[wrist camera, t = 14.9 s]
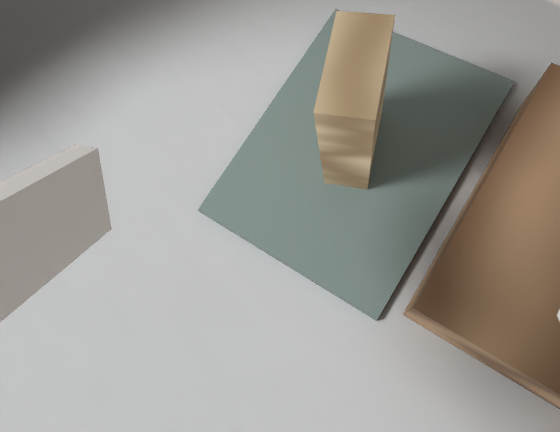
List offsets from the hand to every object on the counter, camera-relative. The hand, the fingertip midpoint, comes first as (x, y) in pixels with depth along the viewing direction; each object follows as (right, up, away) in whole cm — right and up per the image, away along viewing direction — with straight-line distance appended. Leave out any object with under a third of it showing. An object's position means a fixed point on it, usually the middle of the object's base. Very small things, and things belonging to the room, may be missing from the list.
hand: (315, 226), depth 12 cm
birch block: (+3, +4, +14) cm, 15 cm away
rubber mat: (+3, +4, +14) cm, 15 cm away
